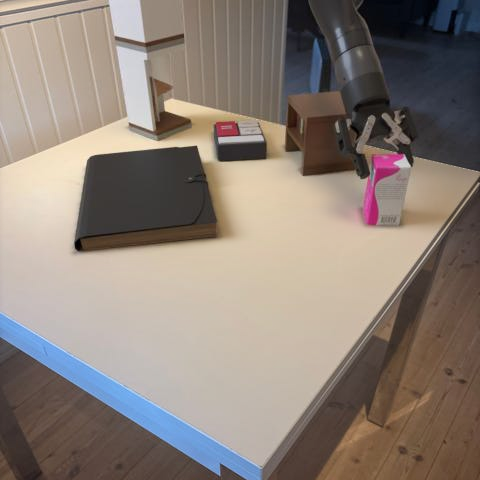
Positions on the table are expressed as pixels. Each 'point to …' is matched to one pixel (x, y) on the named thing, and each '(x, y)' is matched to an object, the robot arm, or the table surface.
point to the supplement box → (386, 189)
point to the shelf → (316, 131)
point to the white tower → (148, 62)
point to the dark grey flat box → (239, 140)
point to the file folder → (144, 199)
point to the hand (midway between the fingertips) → (387, 173)
